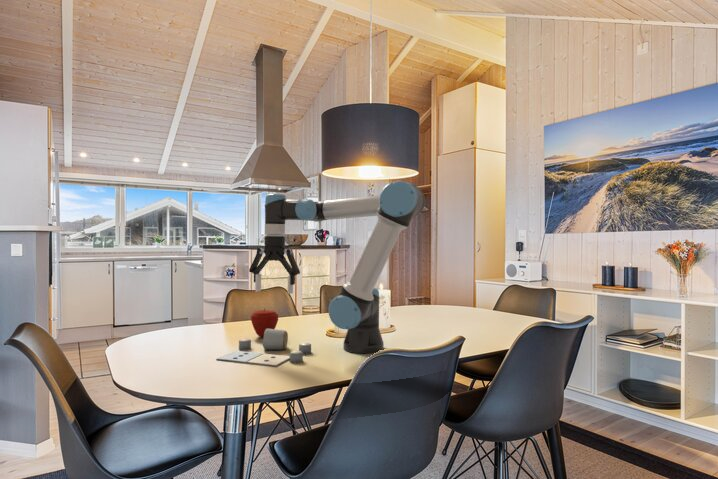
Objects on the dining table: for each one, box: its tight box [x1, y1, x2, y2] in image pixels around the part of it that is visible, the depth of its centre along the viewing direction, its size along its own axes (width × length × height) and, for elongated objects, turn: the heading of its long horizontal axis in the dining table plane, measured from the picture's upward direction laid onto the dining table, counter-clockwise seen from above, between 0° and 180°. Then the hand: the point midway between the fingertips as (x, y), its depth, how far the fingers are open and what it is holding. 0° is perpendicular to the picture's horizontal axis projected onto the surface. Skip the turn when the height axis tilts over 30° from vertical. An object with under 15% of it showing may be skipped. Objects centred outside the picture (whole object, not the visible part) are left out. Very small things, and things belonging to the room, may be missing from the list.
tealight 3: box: [298, 342, 312, 355], centre depth 161 cm, size 4×4×3 cm
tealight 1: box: [238, 338, 252, 351], centre depth 167 cm, size 4×4×3 cm
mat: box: [216, 350, 290, 368], centre depth 152 cm, size 23×12×1 cm, turn 71°
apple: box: [250, 308, 279, 339], centre depth 186 cm, size 11×11×12 cm
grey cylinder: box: [262, 328, 289, 351], centre depth 167 cm, size 11×8×8 cm
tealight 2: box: [289, 350, 304, 364], centre depth 150 cm, size 4×4×3 cm
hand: (273, 292), depth 166 cm, fingers open, 13 cm apart
